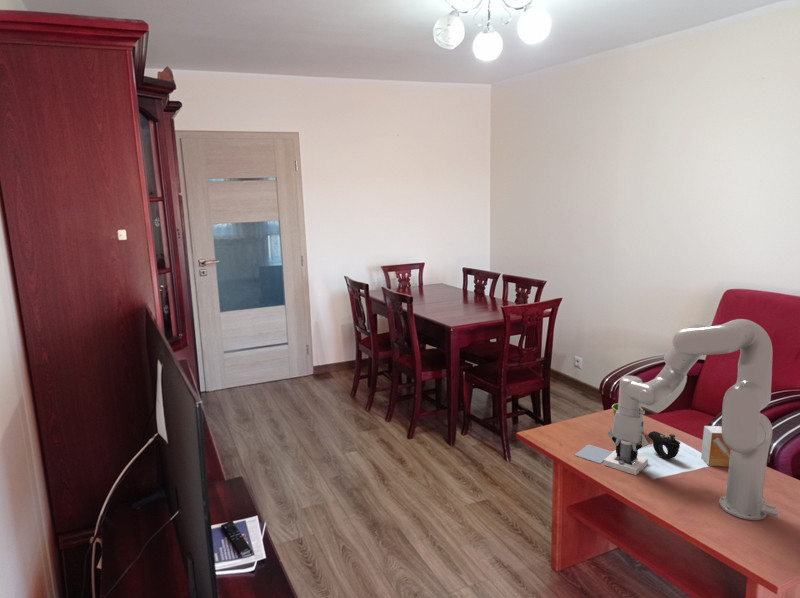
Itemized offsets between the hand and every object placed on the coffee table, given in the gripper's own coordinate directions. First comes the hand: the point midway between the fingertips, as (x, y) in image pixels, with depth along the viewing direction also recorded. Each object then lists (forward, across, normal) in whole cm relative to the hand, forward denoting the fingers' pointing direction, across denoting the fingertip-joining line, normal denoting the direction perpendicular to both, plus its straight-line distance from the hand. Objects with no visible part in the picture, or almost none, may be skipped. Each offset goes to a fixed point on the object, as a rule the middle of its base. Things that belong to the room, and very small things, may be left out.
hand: (626, 456), depth 197 cm
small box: (+3, -24, -23) cm, 33 cm away
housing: (+3, 0, 0) cm, 3 cm away
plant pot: (+3, +10, -26) cm, 28 cm away
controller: (+3, -8, -15) cm, 17 cm away
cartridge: (+3, 0, 0) cm, 3 cm away
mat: (+3, +12, 0) cm, 12 cm away
